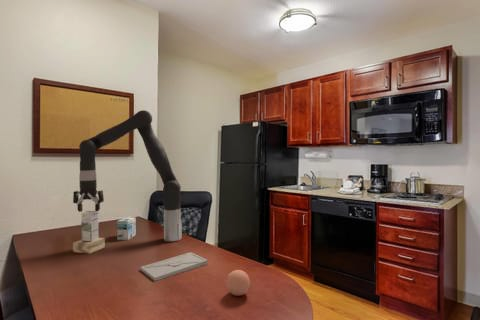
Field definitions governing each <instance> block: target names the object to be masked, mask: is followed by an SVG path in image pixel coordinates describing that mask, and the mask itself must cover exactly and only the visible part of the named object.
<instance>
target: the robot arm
mask: <svg viewBox="0 0 480 320" xmlns="http://www.w3.org/2000/svg"><path fill="white" fill-rule="evenodd" d="M152 122H153V115H152V114H151V113H150V111H147V110H145V109H144V110H143V109H142V110H139V111H138V112H136V113H135V114H134V115H132V116H131V117H129V118H128V119H126V120H124V121H122V122H121V123H118V124H116V125H114V126H111V127H110V128H109V127H108V129H105V130H103V131H101V132H99V133H97V134H96V135H95V136H92V137H90V138H88V139H83V140H82V141H81V142H80V143H79V145H78V147H79V160H80V161H79V174H78V175H79V178H78V179H79V190H80V191H79V190H74V191H73V195H72V196H73V197H72V199H73V200H72V203H73V204H76V205H77V211H78V212H79V213H80V212H81V213H82V212H83V202H84V201H86V200H89V201H90V200H91V201H92V202H94V203H95V204H94V211H98V212H99V211H100V209H101V203H104V191H103V190H102V189H101V190H98V191H97V185H98V183H97V169H96V151H98V150H100V149H101V148H103V147H106V146H108V145H110V144H112V143H114V142H116V141H118V140H120V139H121V138H123V137H124V136H126V135H127V134H129V133H130V132H132V131H135V130H137V131H138V133H139V135H140V137H141V138H142V141H143V145H144V148H145V150H146V152H147V155H148V157H149V160H150V162H151V164H152V165H153V167H154V168H155V170H156V172H157V173H158V174H159V177H160V178H161V181H162V184H163V187H162V201H163V202H162V203H163V240H164V241H165V242H176V241H177V242H178V241H180V240H182V237H183V235H182V230H183V229H182V227H183V226H182V225H183V224H182V223H183V222H182V221H181V220H182V219H181V218H182V217H181V216H182V215H181V210H182V209H181V207H182V206H181V189H182V188H181V184H180V183H179V181H178V179H177V178H176V176H175V174H174V172H173V169H172V167H171V163H170V160H169V158H168V157H169V156H168V154H167V153H166V150H165V148H164V145H163V144H162V142H161V141H160V140H159V139H158V137H157V135H156V134H155V132H154V129H153V127H152Z"/></svg>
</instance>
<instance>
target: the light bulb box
mask: <svg viewBox="0 0 480 320" xmlns="http://www.w3.org/2000/svg"><path fill="white" fill-rule="evenodd" d="M136 221H137V218H136V217H135V216H134V217H129V216H128V217H126V216H125V217H123V218H120V219H119V220H117V221H116V226H117V227H116V228H117V231H116V233H117V234H116V235H117V236H116V238H117V241H128V240H129V241H130V240H131V239H132V238H133V237H135V236H136V233H137V232H136V229H137V228H136V227H137V226H136Z"/></svg>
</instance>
